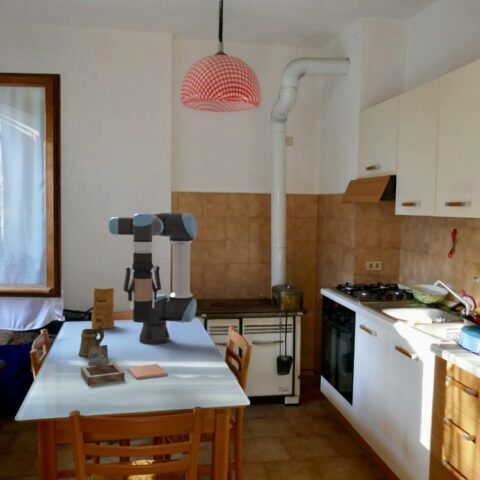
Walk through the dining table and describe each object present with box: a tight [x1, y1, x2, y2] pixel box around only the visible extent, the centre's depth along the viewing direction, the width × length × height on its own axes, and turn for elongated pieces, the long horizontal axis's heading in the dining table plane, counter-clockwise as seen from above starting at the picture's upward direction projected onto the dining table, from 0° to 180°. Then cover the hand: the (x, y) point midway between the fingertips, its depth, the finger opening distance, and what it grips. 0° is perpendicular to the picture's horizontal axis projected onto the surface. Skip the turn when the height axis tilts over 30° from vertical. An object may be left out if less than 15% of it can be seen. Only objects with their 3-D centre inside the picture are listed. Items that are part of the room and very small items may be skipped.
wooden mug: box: [78, 316, 109, 358], centre depth 242 cm, size 9×14×18 cm, turn 93°
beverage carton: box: [87, 344, 109, 366], centre depth 227 cm, size 8×19×7 cm, turn 14°
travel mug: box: [132, 270, 153, 324], centre depth 215 cm, size 8×8×20 cm
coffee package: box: [91, 287, 115, 330], centre depth 295 cm, size 10×12×22 cm
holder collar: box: [80, 362, 126, 386], centre depth 210 cm, size 14×14×3 cm
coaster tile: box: [126, 363, 169, 380], centre depth 218 cm, size 13×13×1 cm
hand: (142, 308), depth 215 cm, fingers closed on travel mug, 8 cm apart
